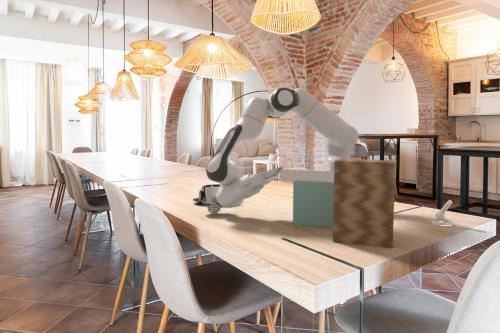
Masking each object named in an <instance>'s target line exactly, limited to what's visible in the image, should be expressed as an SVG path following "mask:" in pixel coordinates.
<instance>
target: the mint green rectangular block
mask: <svg viewBox="0 0 500 333" xmlns="http://www.w3.org/2000/svg"><path fill="white" fill-rule="evenodd" d="M292 184H293V185H292V186H293V187H292V188H293V189H292V191H293V192H292V224H293V225H299V226H308V227H309V226H310V227H318V228H319V227H320V228H328V229H329V228H331V229H333V205H334V183H322V182H303V181H292Z"/></svg>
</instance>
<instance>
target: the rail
mask: <svg viewBox="0 0 500 333" xmlns="http://www.w3.org/2000/svg"><path fill="white" fill-rule="evenodd" d="M279 181H287V182H289V181H290V182H294V181H303V182H322V183H334V171H327V170H315V169H314V170H312V169H311V170H307V169H289V168H288V169H284V168H283V169H282V170H280V173H279Z"/></svg>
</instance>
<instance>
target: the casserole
mask: <svg viewBox="0 0 500 333" xmlns="http://www.w3.org/2000/svg"><path fill="white" fill-rule="evenodd" d="M211 186H213V187H220V183H216V184H213V183H212V184H205V185H202V187H201V189H200V190H199V191H202V189H203V187H211ZM192 201H194V202H196V203H200V204H201V203H202V204H203V202H202V201H200V200H199V197H195V198H193V199H192ZM207 204H209V205H211V204H210V203H207ZM216 204H219V203H216ZM219 205H220V204H219Z"/></svg>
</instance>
